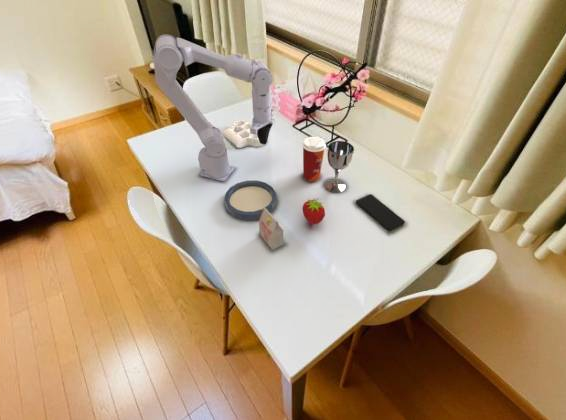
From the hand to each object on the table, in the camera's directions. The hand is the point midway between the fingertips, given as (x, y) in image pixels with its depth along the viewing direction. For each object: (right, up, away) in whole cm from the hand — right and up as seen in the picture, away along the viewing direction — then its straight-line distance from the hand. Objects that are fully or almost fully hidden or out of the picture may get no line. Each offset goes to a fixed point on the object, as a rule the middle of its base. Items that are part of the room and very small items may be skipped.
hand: (263, 143), depth 105 cm
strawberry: (+16, -27, -14) cm, 35 cm away
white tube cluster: (-9, +7, +20) cm, 23 cm away
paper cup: (+17, -11, +2) cm, 20 cm away
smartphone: (+37, -24, -11) cm, 45 cm away
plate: (-3, -21, -8) cm, 22 cm away
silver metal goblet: (+24, -15, -1) cm, 29 cm away
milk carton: (+4, -32, -19) cm, 37 cm away
